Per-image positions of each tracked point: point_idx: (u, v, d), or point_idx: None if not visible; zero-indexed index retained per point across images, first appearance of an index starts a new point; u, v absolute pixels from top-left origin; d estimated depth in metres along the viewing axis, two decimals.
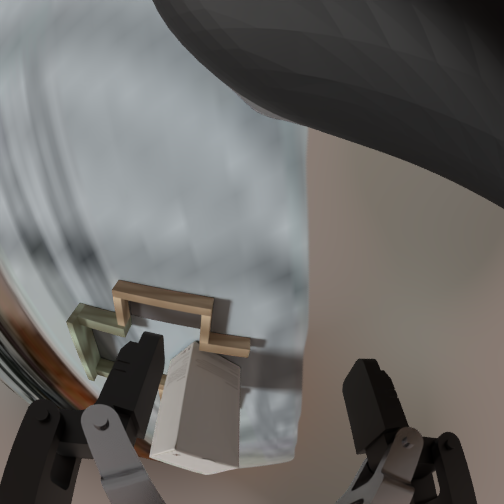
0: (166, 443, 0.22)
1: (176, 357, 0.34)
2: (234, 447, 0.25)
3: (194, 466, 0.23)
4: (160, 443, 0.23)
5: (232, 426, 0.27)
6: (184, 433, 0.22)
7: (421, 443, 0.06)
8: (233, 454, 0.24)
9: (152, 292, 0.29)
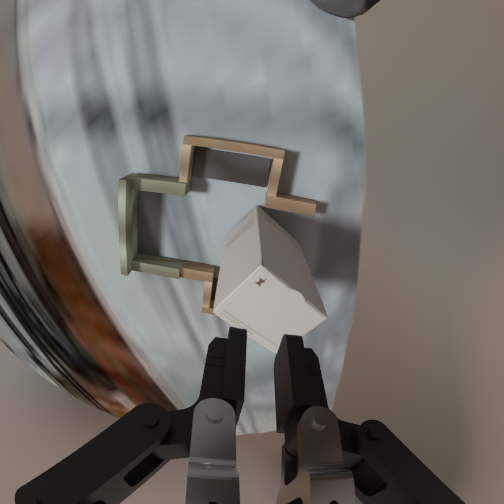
0: (245, 273, 0.22)
1: (234, 228, 0.35)
2: (317, 296, 0.25)
3: (273, 320, 0.23)
4: (233, 282, 0.23)
5: (309, 277, 0.27)
6: (268, 256, 0.23)
7: (335, 426, 0.07)
8: (319, 301, 0.24)
9: (225, 140, 0.30)
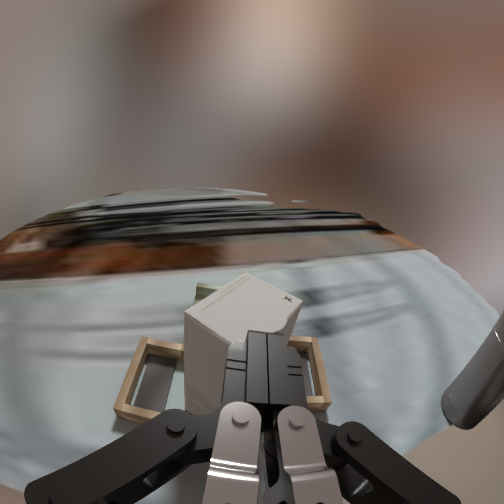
0: None
1: None
2: None
3: (243, 306, 0.21)
4: None
5: None
6: (293, 325, 0.23)
7: (312, 427, 0.07)
8: None
9: None
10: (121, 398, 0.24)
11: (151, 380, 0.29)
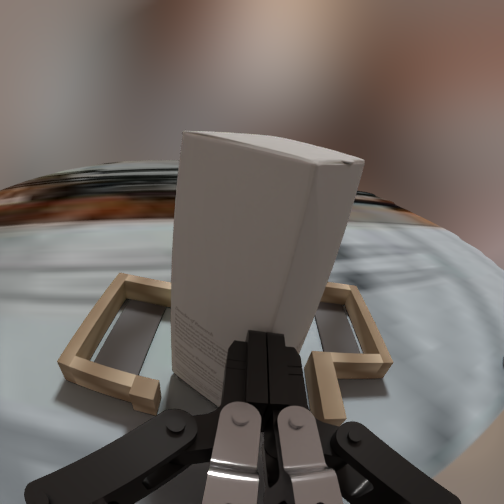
0: None
1: None
2: (311, 231, 0.10)
3: (281, 140, 0.12)
4: None
5: (297, 291, 0.11)
6: (353, 200, 0.14)
7: (312, 427, 0.07)
8: (318, 207, 0.09)
9: None
10: (72, 348, 0.15)
11: (125, 331, 0.20)
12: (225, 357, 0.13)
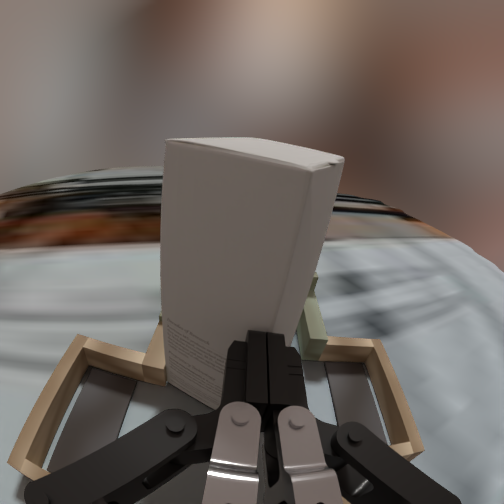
0: None
1: None
2: (305, 235, 0.10)
3: (265, 143, 0.12)
4: None
5: (292, 293, 0.11)
6: None
7: (312, 427, 0.07)
8: (312, 212, 0.10)
9: None
10: (21, 447, 0.07)
11: (85, 417, 0.12)
12: (224, 364, 0.13)
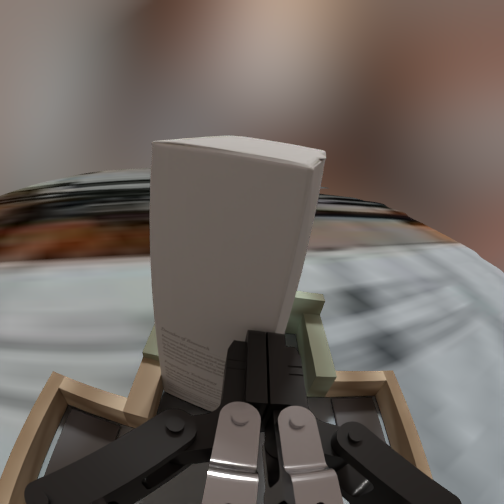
0: None
1: None
2: (304, 232, 0.10)
3: (251, 141, 0.12)
4: None
5: (291, 290, 0.11)
6: None
7: (312, 427, 0.07)
8: (310, 208, 0.10)
9: None
10: (2, 496, 0.04)
11: (66, 464, 0.09)
12: None
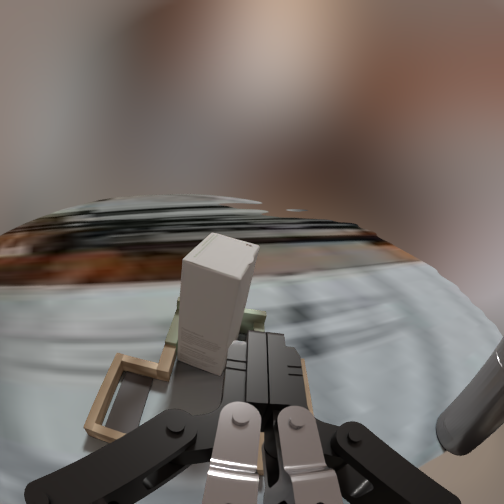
0: None
1: None
2: (239, 296, 0.28)
3: (221, 252, 0.29)
4: None
5: (236, 314, 0.29)
6: (254, 265, 0.33)
7: (312, 427, 0.07)
8: (241, 288, 0.27)
9: None
10: (92, 417, 0.21)
11: (125, 399, 0.26)
12: (210, 345, 0.30)
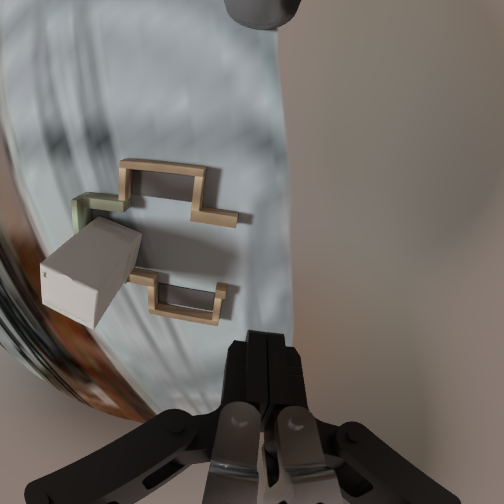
0: None
1: None
2: (100, 275, 0.27)
3: (68, 301, 0.25)
4: None
5: (107, 261, 0.29)
6: (55, 255, 0.26)
7: (312, 427, 0.07)
8: (96, 279, 0.26)
9: (154, 162, 0.33)
10: (208, 322, 0.43)
11: (183, 300, 0.43)
12: (128, 261, 0.35)
